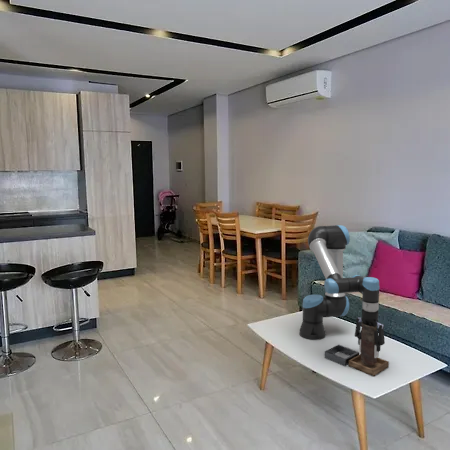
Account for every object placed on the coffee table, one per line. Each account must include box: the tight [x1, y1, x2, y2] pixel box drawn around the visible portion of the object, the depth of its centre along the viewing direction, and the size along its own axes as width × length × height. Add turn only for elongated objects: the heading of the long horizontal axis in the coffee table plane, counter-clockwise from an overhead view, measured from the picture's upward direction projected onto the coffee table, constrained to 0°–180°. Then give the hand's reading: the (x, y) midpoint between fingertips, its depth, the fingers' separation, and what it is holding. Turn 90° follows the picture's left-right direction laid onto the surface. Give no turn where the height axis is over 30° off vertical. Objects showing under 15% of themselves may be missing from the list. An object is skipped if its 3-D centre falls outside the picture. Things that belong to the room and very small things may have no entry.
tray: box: [348, 353, 390, 377], centre depth 197 cm, size 14×14×3 cm
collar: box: [323, 344, 360, 367], centre depth 206 cm, size 12×12×4 cm
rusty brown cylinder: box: [360, 322, 378, 365], centre depth 196 cm, size 8×7×20 cm
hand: (368, 354), depth 196 cm, fingers closed on rusty brown cylinder, 7 cm apart
